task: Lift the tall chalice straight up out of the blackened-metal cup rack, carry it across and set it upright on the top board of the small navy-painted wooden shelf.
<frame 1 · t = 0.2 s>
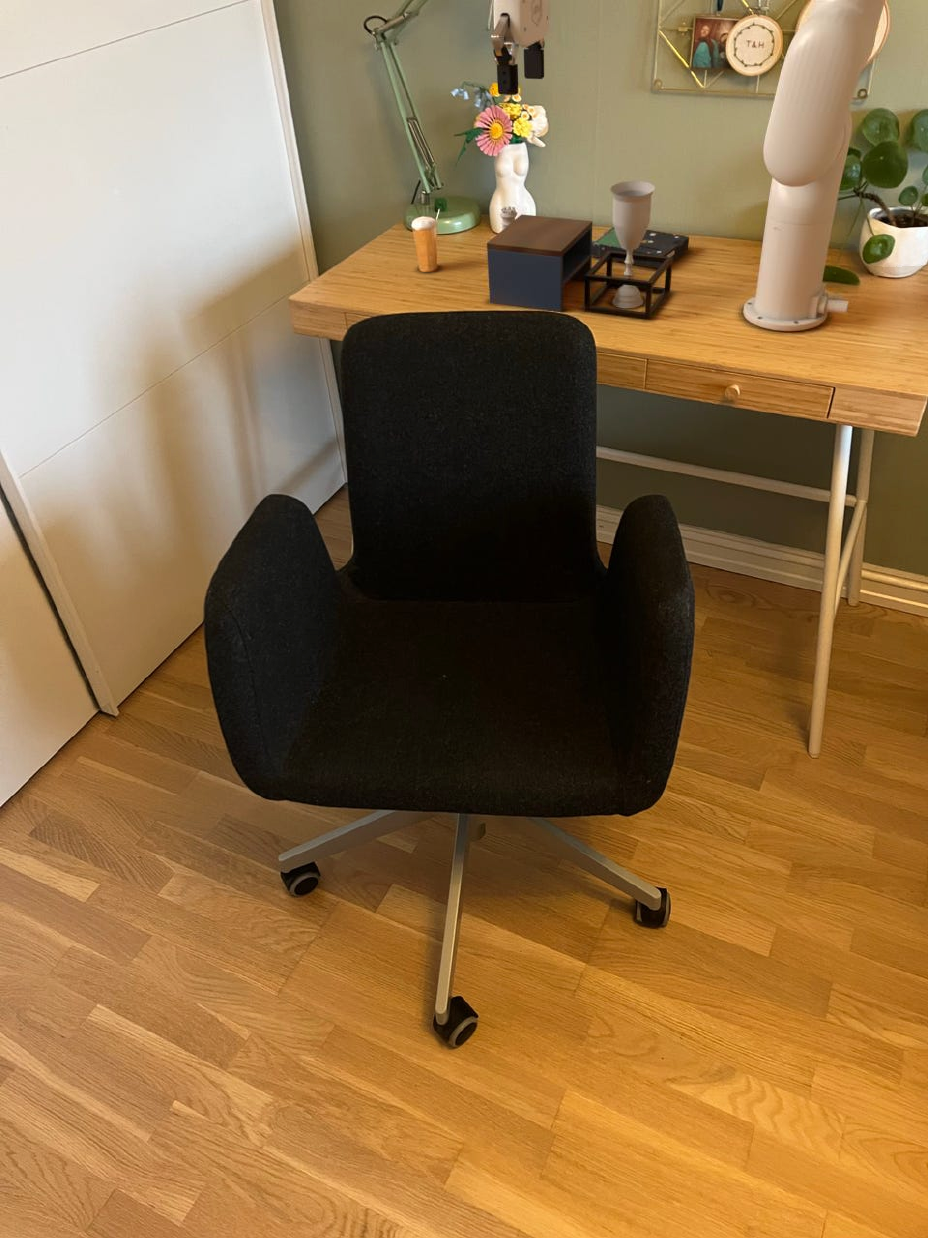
hand: (521, 85, 148), 31 cm above the table, tool pointing down, fingers open, 9 cm apart
disk drive: (638, 255, 175), on the table
chalice: (627, 302, 160), resting in cup rack
shelf: (541, 290, 165), on the table
cup rack: (627, 301, 159), on the table
rook chess piece: (509, 253, 180), on the table
milkshake: (430, 269, 177), on the table
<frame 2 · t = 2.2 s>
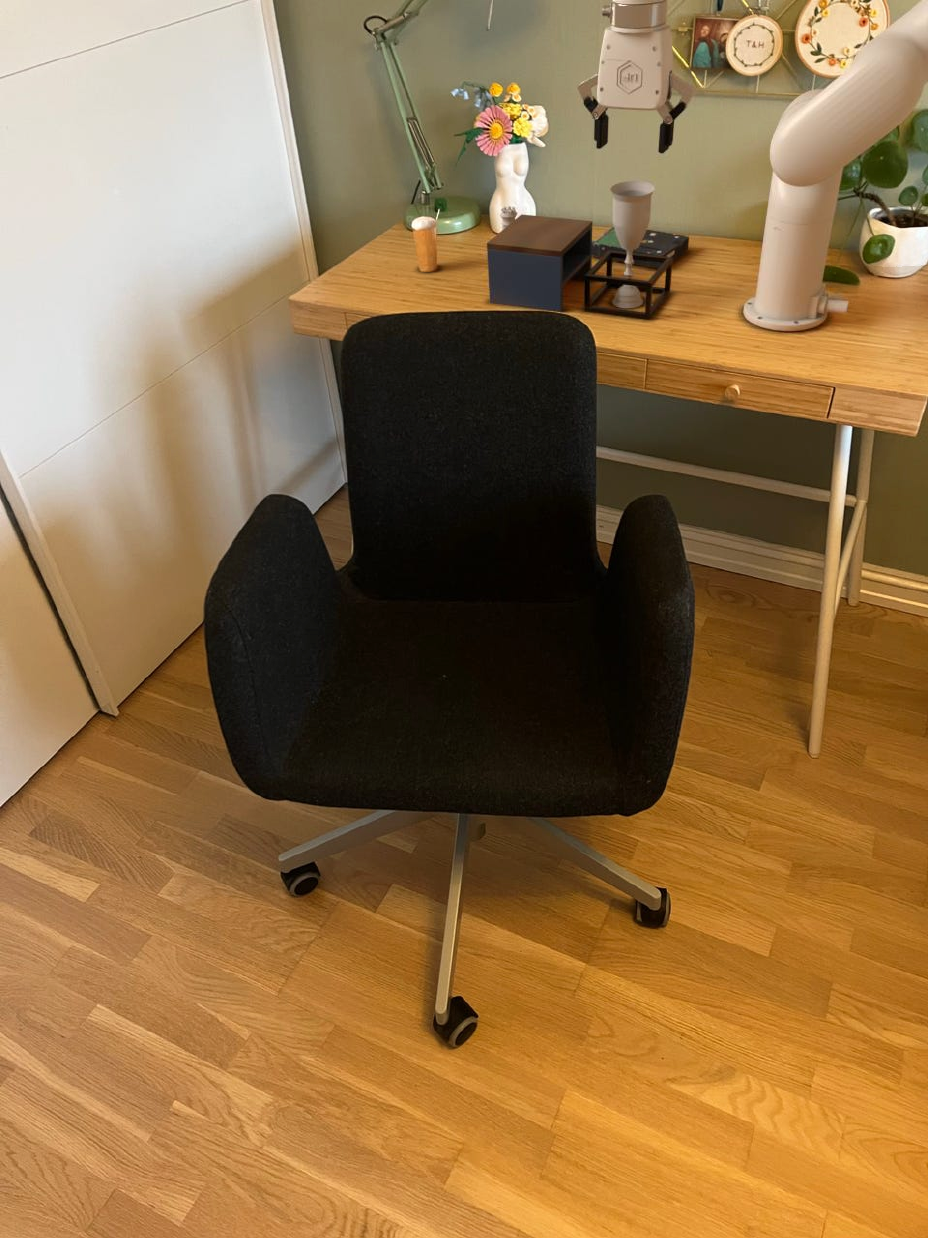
hand: (632, 148, 144), 24 cm above the table, tool pointing down, fingers open, 9 cm apart
nothing on the table moved.
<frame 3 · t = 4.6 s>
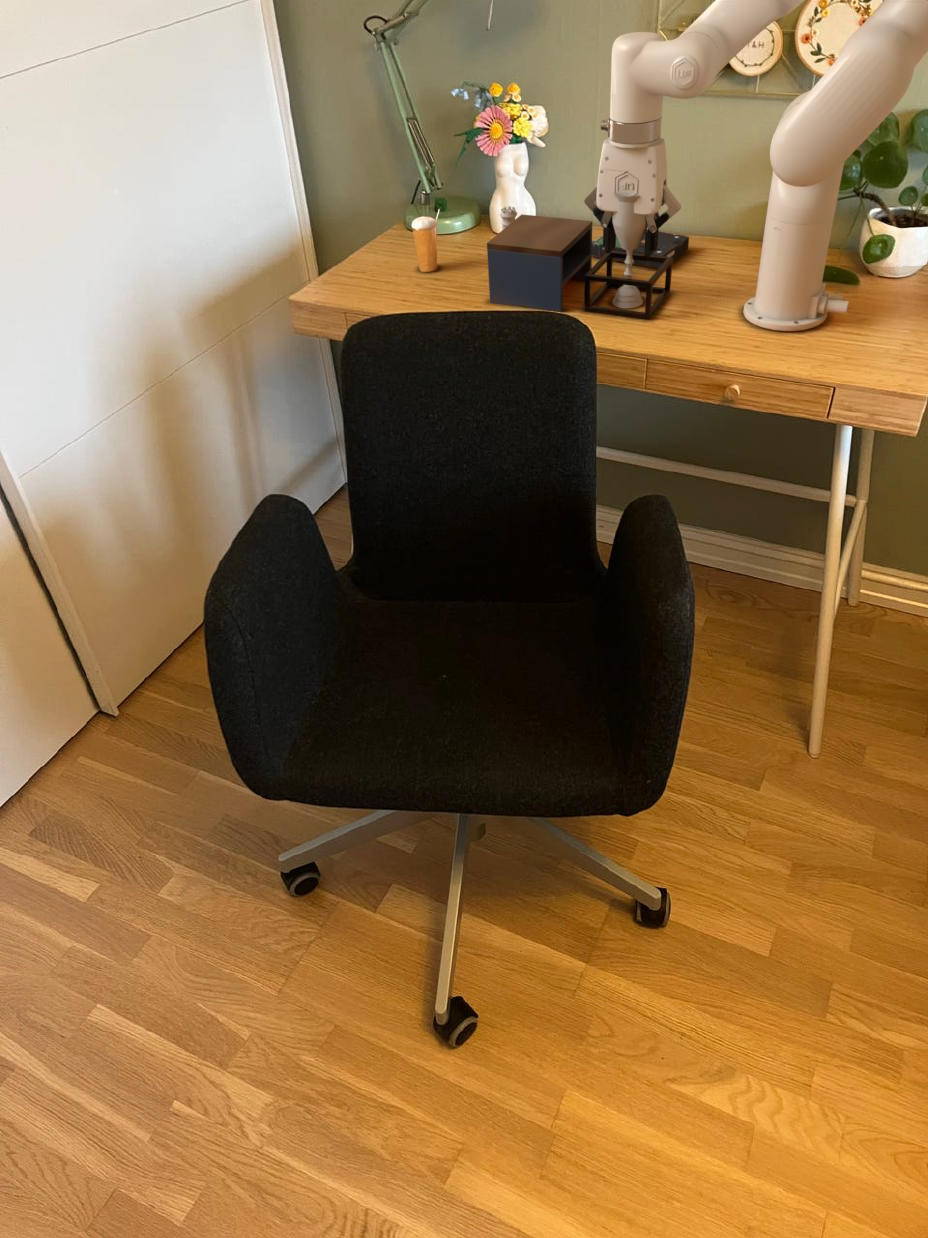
hand: (629, 251, 154), 8 cm above the table, tool pointing down, fingers closed on chalice, 5 cm apart
chalice: (627, 303, 160), resting in cup rack, touching gripper
everything else where it was.
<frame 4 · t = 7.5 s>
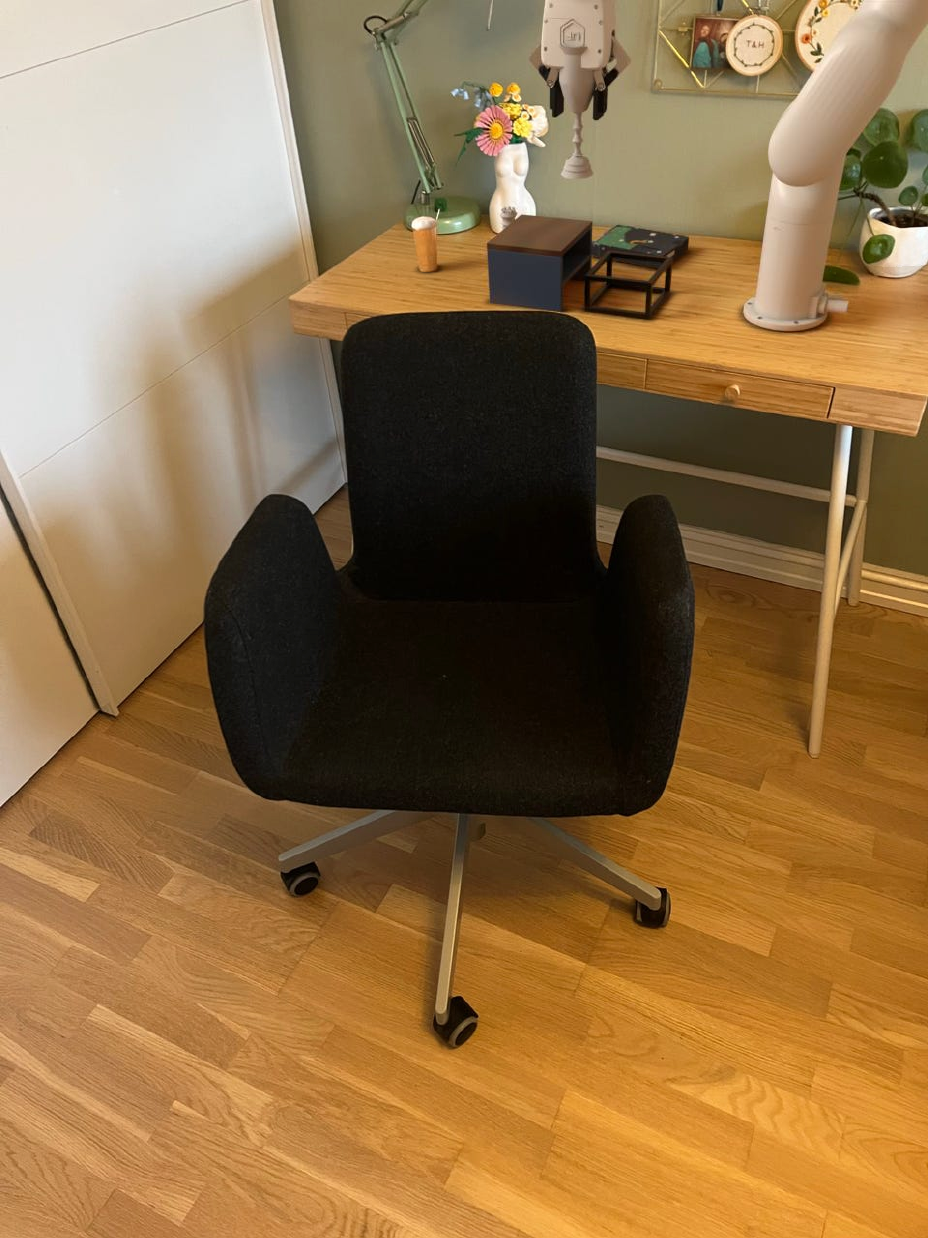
hand: (578, 115, 145), 28 cm above the table, tool pointing down, fingers closed on chalice, 5 cm apart
chalice: (577, 174, 150), point 19 cm above the table, touching gripper
everything else where it was.
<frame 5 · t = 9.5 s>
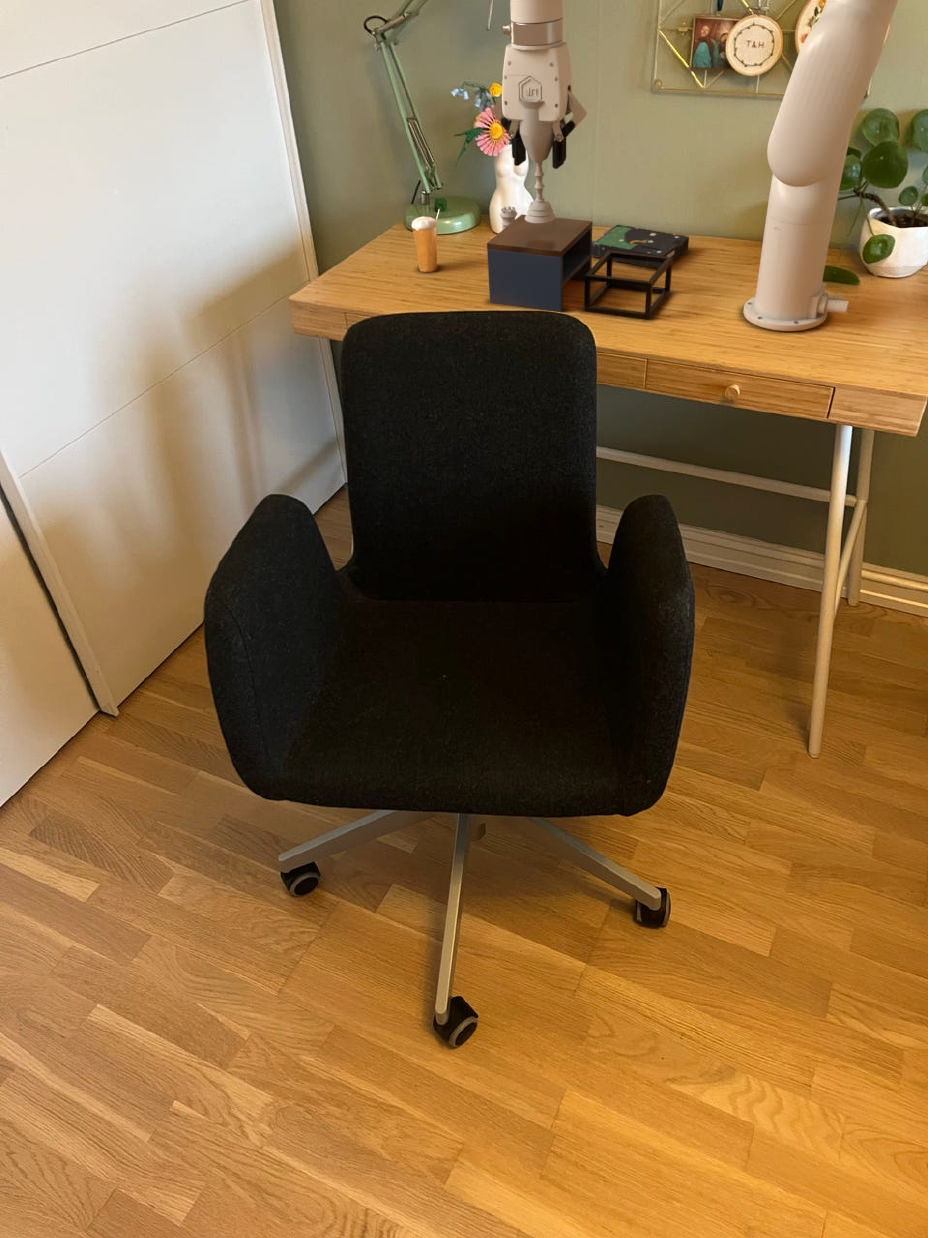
hand: (539, 163, 152), 21 cm above the table, tool pointing down, fingers closed on chalice, 5 cm apart
chalice: (540, 218, 157), point 12 cm above the table, touching gripper
everything else where it was.
when the fingers open (18 cm above the table, at t = 10.6 s): chalice stays where it is, resting on shelf.
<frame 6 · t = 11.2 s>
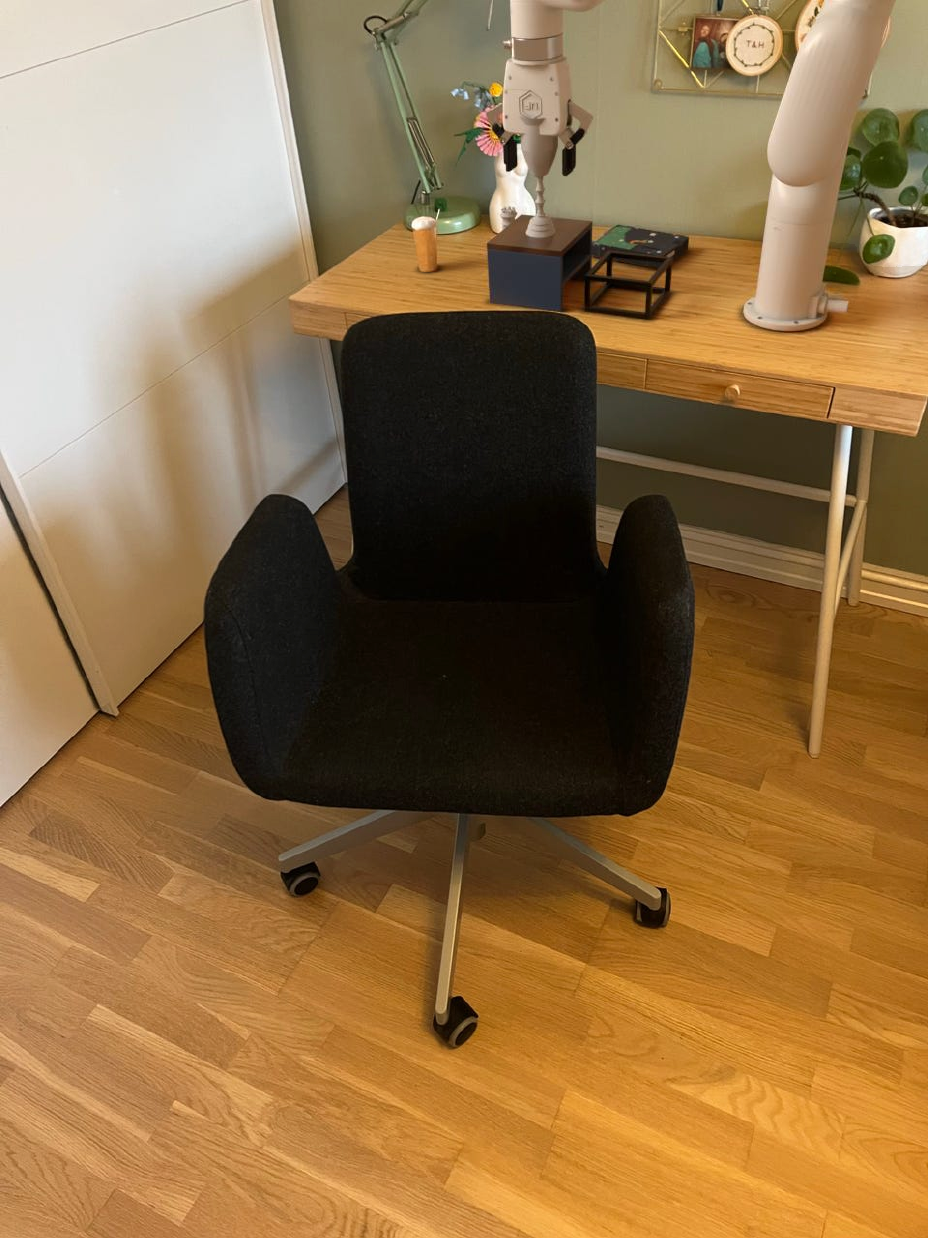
hand: (539, 171, 153), 19 cm above the table, tool pointing down, fingers open, 9 cm apart
chalice: (540, 232, 159), point 10 cm above the table, touching shelf
everything else where it was.
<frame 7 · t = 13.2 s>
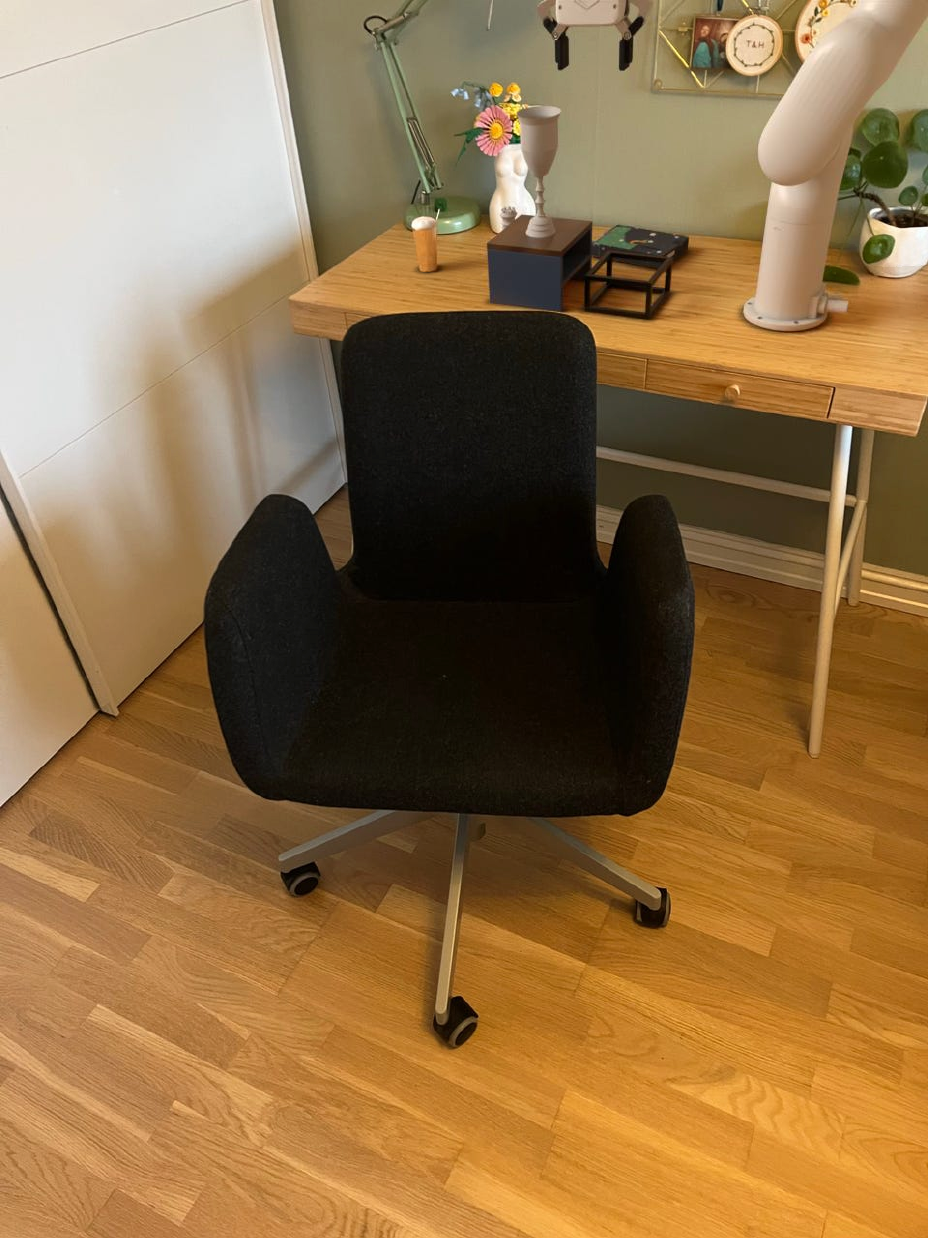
hand: (593, 68, 145), 33 cm above the table, tool pointing down, fingers open, 9 cm apart
nothing on the table moved.
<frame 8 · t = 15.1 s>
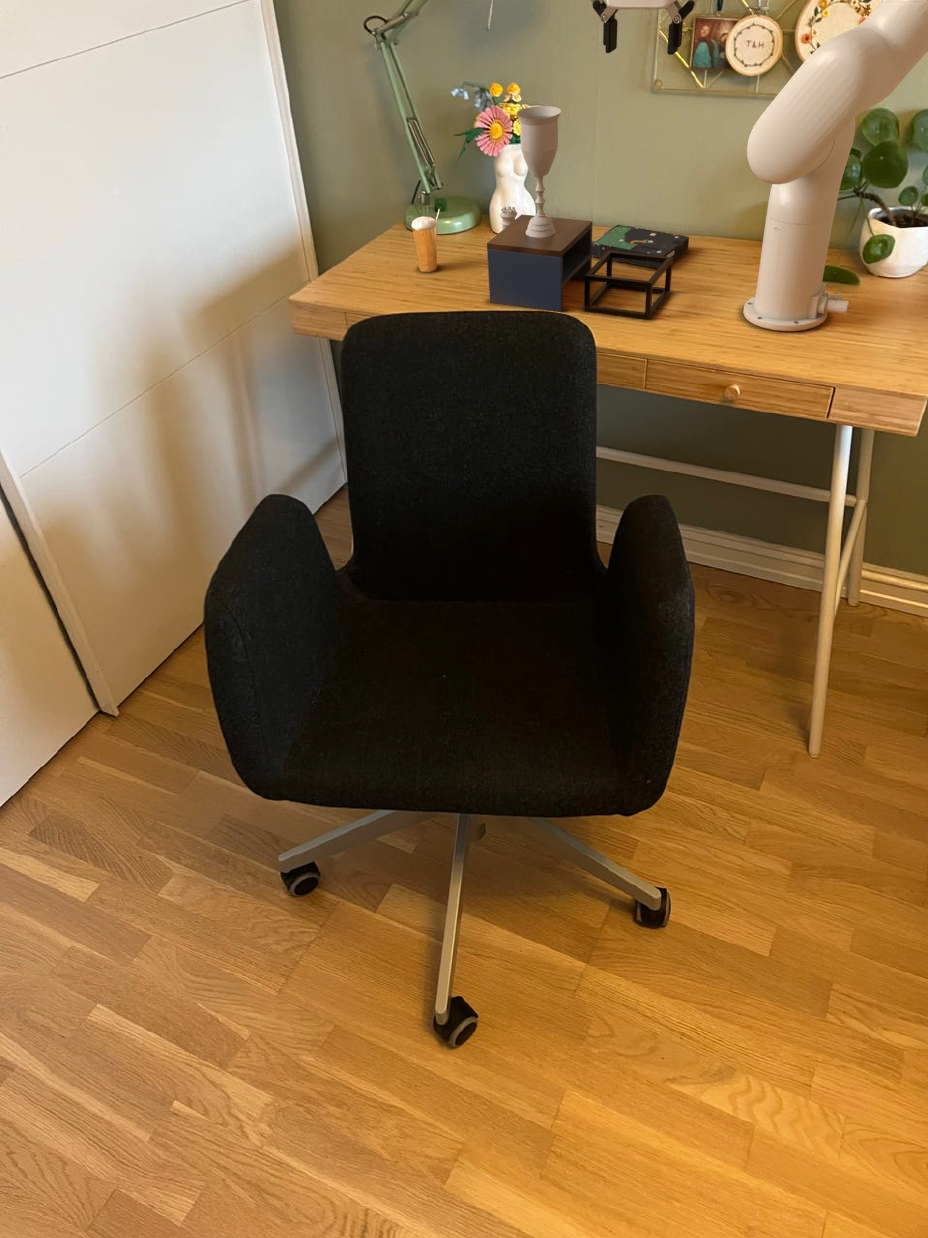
hand: (641, 51, 145), 34 cm above the table, tool pointing down, fingers open, 9 cm apart
nothing on the table moved.
at the end: chalice inside the target area on the shelf (0.1 cm from its centre), point 9.8 cm above the shelf's base; chalice tilted 0°; the gripper is holding nothing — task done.
